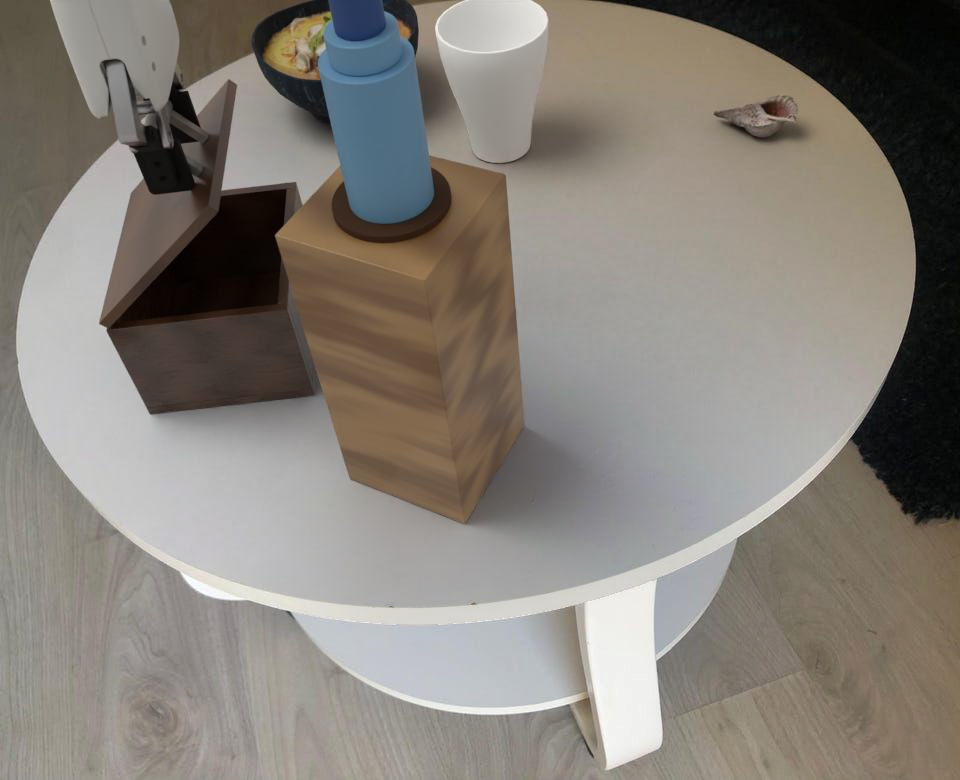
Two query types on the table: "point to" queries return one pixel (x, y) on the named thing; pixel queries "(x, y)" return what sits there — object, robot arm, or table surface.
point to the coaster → (396, 230)
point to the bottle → (375, 112)
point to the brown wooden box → (221, 314)
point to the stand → (415, 341)
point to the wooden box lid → (171, 206)
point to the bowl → (310, 49)
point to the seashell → (763, 115)
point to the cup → (495, 71)
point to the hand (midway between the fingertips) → (177, 163)
